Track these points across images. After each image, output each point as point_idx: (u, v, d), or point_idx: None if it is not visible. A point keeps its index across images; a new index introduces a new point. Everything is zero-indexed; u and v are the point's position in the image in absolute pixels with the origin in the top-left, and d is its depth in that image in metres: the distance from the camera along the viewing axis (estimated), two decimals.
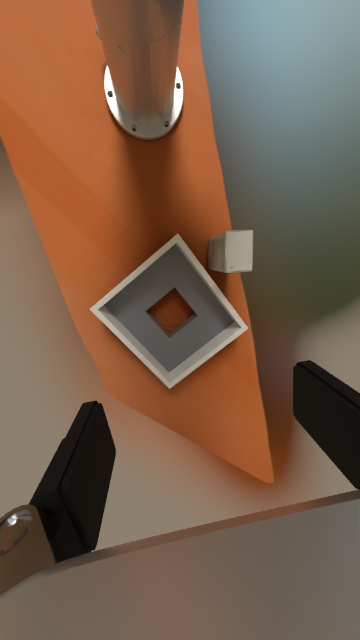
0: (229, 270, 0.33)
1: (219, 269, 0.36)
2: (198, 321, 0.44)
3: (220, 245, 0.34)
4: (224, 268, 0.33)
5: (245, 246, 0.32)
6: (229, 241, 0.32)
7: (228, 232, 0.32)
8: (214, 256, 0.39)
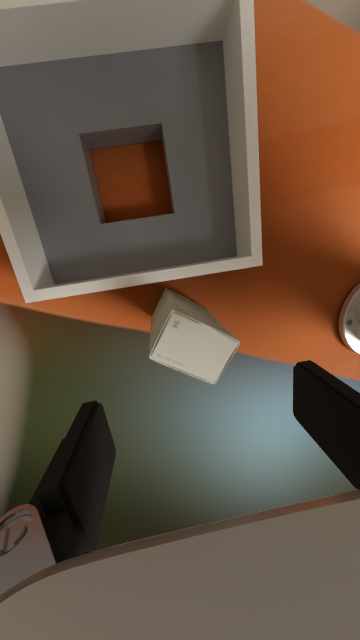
0: (173, 318, 0.16)
1: (173, 302, 0.19)
2: (88, 219, 0.21)
3: (212, 322, 0.19)
4: (179, 311, 0.16)
5: (197, 364, 0.17)
6: (221, 341, 0.16)
7: (236, 345, 0.17)
8: (189, 304, 0.22)
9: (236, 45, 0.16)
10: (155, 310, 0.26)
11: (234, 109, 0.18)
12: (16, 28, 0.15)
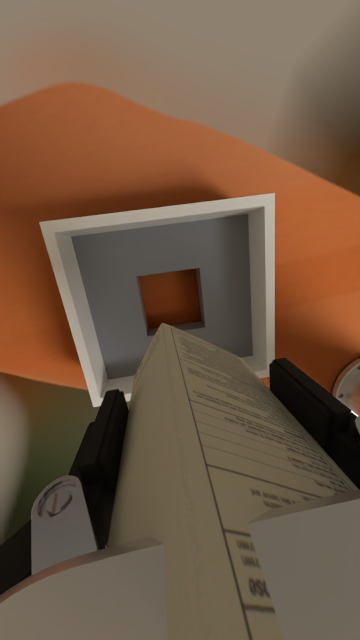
0: None
1: (191, 435, 0.05)
2: (138, 333, 0.27)
3: None
4: None
5: None
6: None
7: None
8: (226, 385, 0.08)
9: (260, 234, 0.22)
10: (139, 374, 0.12)
11: (256, 266, 0.24)
12: (103, 228, 0.21)
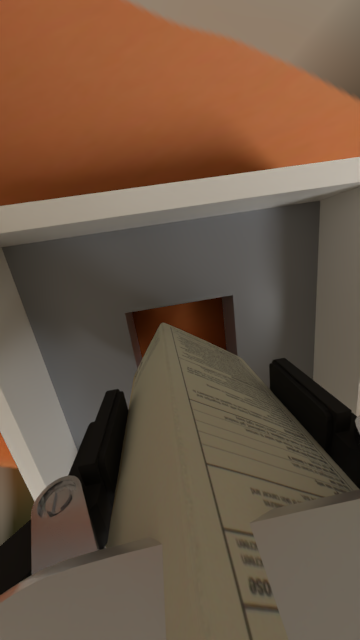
0: None
1: (191, 434, 0.05)
2: None
3: None
4: None
5: None
6: None
7: None
8: (226, 384, 0.08)
9: (358, 237, 0.12)
10: (139, 373, 0.12)
11: (336, 293, 0.14)
12: (52, 231, 0.10)
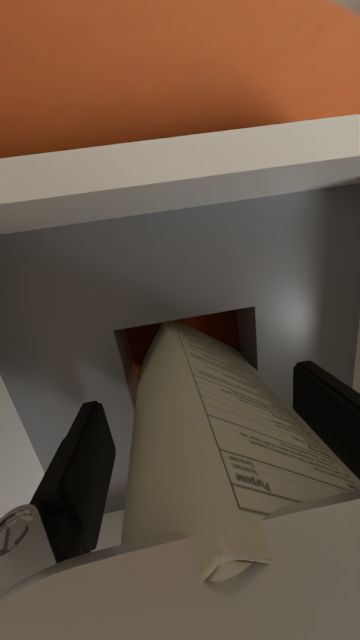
0: None
1: (195, 396, 0.06)
2: (123, 440, 0.13)
3: (313, 456, 0.06)
4: (245, 515, 0.03)
5: None
6: None
7: None
8: (223, 367, 0.10)
9: None
10: (146, 362, 0.13)
11: None
12: None
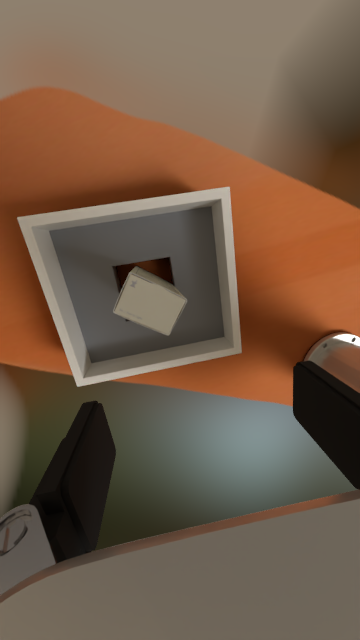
0: (131, 279, 0.20)
1: (135, 270, 0.23)
2: (117, 319, 0.30)
3: (168, 287, 0.23)
4: (136, 274, 0.20)
5: (153, 317, 0.21)
6: (171, 298, 0.21)
7: (184, 302, 0.21)
8: (153, 276, 0.26)
9: (220, 224, 0.25)
10: None
11: (220, 253, 0.27)
12: (77, 222, 0.23)
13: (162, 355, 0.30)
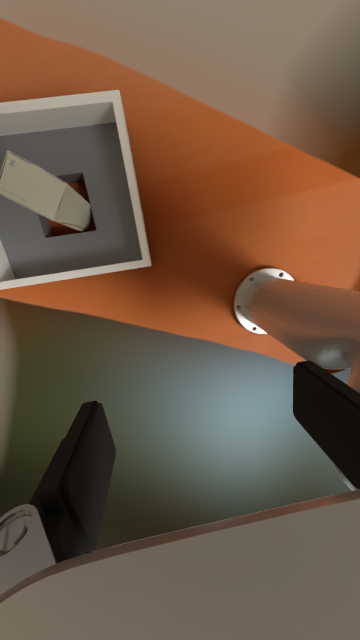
0: (9, 158, 0.21)
1: None
2: (36, 234, 0.32)
3: None
4: (17, 155, 0.22)
5: (35, 200, 0.23)
6: (51, 181, 0.22)
7: (64, 186, 0.23)
8: None
9: None
10: None
11: None
12: None
13: None
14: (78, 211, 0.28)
